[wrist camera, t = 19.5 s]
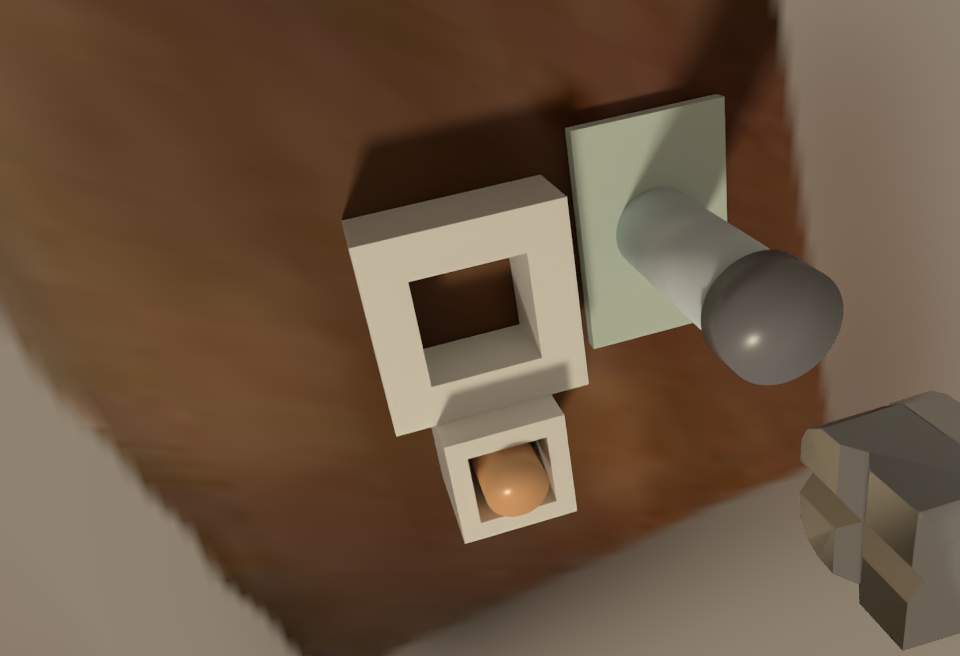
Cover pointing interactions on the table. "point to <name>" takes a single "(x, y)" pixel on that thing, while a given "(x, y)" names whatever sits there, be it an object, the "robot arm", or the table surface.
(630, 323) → the mat
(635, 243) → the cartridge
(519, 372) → the housing
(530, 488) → the release button
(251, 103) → the table surface
